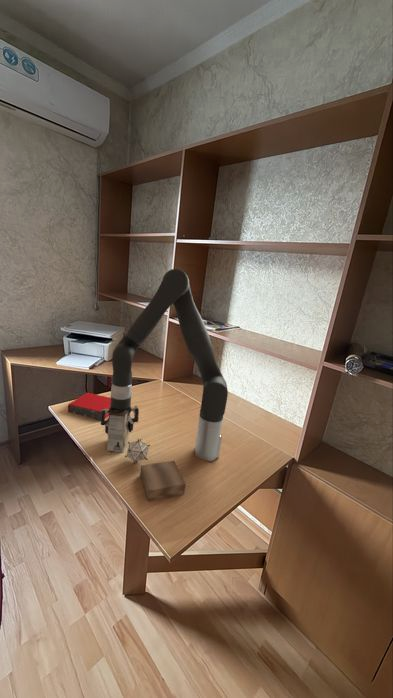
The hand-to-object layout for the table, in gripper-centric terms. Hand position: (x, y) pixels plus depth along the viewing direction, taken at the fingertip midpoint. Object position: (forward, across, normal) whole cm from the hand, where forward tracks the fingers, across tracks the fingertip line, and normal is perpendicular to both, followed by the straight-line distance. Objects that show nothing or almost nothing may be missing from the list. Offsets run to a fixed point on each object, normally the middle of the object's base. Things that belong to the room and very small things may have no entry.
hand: (118, 432), depth 114 cm
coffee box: (+6, 0, 0) cm, 6 cm away
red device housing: (+6, +8, -30) cm, 32 cm away
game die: (+6, -5, +12) cm, 14 cm away
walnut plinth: (+6, -11, +25) cm, 28 cm away
